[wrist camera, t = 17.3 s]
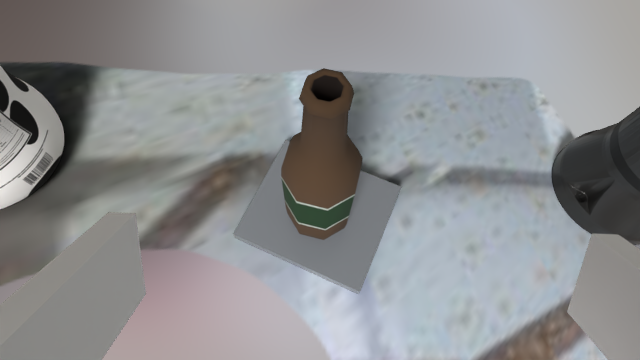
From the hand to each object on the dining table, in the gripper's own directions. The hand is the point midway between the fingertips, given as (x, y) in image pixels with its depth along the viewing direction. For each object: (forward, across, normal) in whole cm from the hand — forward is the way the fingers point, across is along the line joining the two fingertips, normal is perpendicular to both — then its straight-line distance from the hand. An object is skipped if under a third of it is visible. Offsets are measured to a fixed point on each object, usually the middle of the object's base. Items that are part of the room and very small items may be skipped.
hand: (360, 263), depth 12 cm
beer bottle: (+34, -1, -14) cm, 37 cm away
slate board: (+35, -1, -15) cm, 38 cm away
